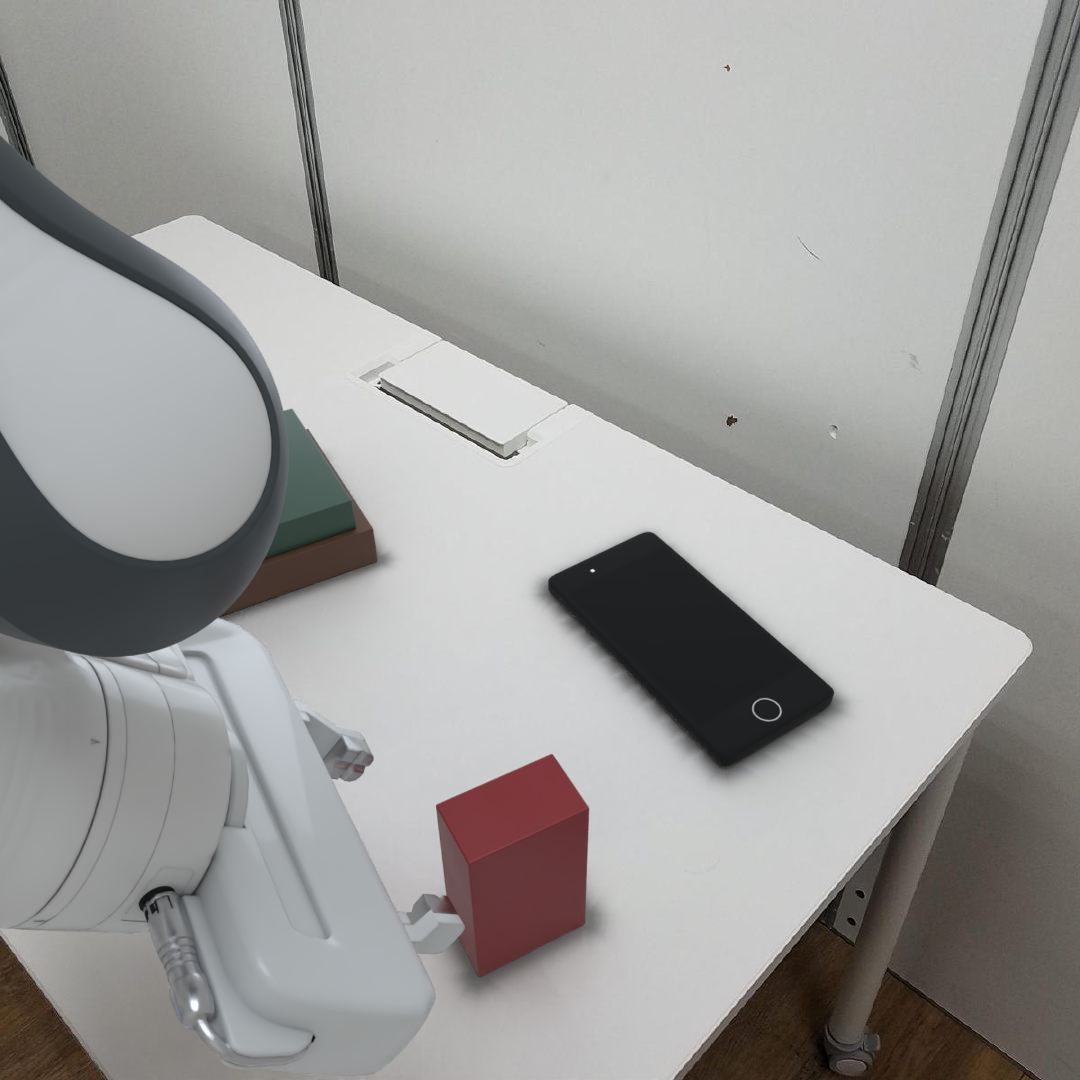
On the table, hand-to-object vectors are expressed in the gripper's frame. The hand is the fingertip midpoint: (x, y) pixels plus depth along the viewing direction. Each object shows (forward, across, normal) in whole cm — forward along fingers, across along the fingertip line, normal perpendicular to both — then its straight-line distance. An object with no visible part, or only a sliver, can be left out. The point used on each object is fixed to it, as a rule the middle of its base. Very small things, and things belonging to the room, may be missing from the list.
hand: (402, 836), depth 48 cm
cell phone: (+24, +11, -9) cm, 28 cm away
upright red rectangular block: (+11, -1, +4) cm, 12 cm away
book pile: (+8, +34, +8) cm, 36 cm away
